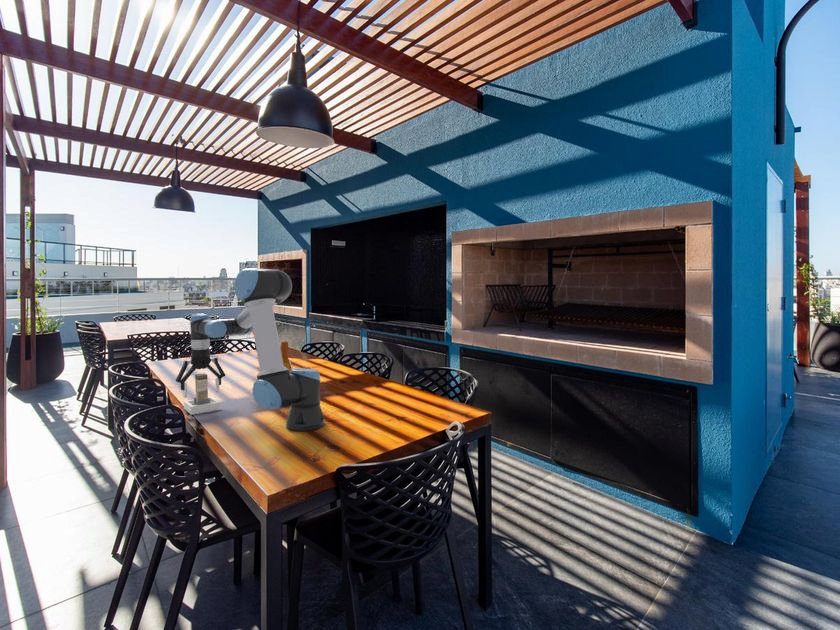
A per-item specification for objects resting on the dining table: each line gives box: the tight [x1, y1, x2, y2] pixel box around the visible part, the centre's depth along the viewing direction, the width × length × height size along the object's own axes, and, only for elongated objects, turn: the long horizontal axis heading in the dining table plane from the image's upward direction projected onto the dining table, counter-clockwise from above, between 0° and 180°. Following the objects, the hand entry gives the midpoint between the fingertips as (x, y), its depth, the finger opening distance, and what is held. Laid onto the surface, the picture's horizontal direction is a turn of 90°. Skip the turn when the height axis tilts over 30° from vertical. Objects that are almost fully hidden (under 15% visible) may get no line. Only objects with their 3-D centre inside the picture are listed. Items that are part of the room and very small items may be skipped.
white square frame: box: [183, 396, 221, 416], centre depth 194 cm, size 12×12×5 cm
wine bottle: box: [280, 341, 293, 374], centre depth 204 cm, size 10×10×30 cm
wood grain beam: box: [194, 372, 209, 405], centre depth 194 cm, size 4×4×14 cm
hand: (201, 394), depth 194 cm, fingers open, 13 cm apart
